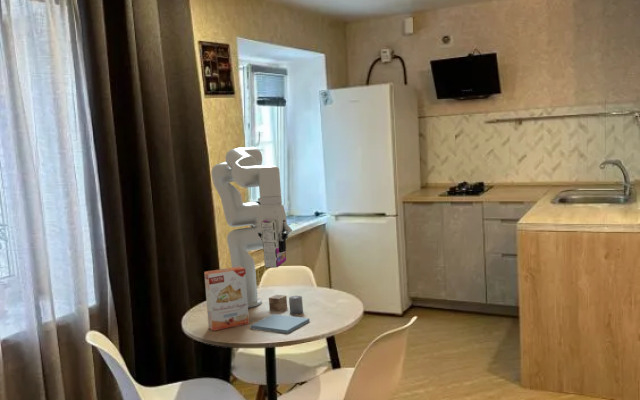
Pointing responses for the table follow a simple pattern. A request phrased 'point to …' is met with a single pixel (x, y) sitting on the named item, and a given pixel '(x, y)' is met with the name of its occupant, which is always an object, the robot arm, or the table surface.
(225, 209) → the robot arm
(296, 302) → the charcoal cylinder
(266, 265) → the candy bar box
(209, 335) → the table surface
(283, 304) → the walnut block
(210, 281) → the cracker box
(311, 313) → the table surface
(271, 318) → the slate board
